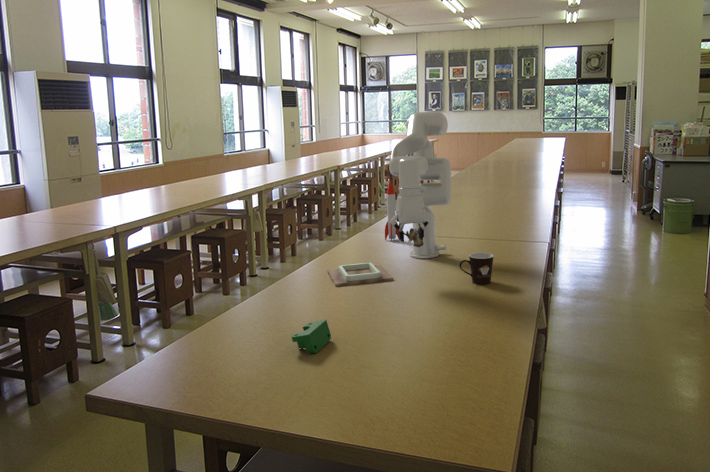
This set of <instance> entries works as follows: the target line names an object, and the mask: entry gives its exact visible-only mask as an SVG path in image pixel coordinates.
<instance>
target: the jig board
mask: <svg viewBox="0 0 710 472" xmlns="http://www.w3.org/2000/svg"><path fill="white" fill-rule="evenodd" d="M327 274H328V276H329V278H330V280H331V281H332V283H333V284H334V286H335V287H344V286H353V285H363V284H373V283H381V282H382V283H383V282H389V281H391V282H392V281H394V277H393V276H392V275H391V274H390V273H389V272H388V271H387V270H386V269H385V268H384V267H383V266H382V265H381V264H377V265H375V264H373V263H372V262H361V263H359V262H358V263H352V264H341V265H339V266H338V268H335V269H327Z"/></svg>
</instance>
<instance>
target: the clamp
mask: <svg viewBox="0 0 710 472" xmlns="http://www.w3.org/2000/svg"><path fill="white" fill-rule="evenodd" d="M302 329H303V331H299V332H295V333H292V334H291V340H292V342H293V343H296V344H297V347H298V349H299V348H306V349H305V350H306V353H307V354H308V353H310V354H317V353H318V352H319V351H320V350H321V349H322V348H323V347H324V346H325V345H326V344H328V343H329V342H330V341H331V340H332V339H331V338H332V335H331V331H330V327H329V324H328V321H327V319H324V320H323V319H322V320H317V321H311V322H308V323H306V324H305V325H303V326H302Z"/></svg>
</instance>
